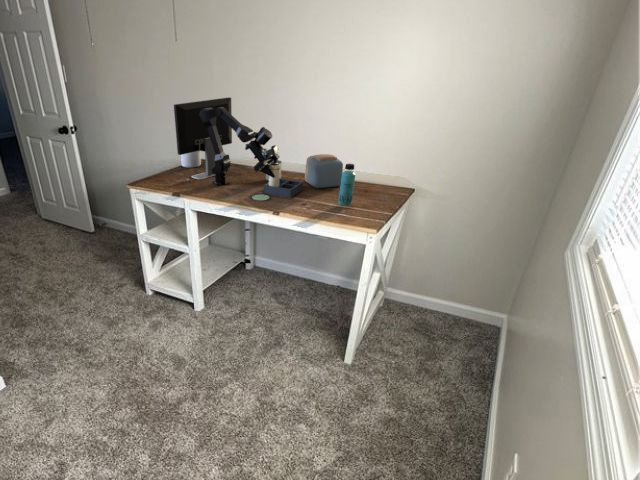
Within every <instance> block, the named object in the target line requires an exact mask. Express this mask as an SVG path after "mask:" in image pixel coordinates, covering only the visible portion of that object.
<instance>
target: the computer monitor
mask: <svg viewBox="0 0 640 480" xmlns="http://www.w3.org/2000/svg"><path fill="white" fill-rule="evenodd" d="M210 107H211V108H213V109H217V108H220V107H224V108H225V109H226V110H227V111H228V112H229V113H230V114H231V115H232V97H230V96H229V97H221V98H213V99H212V98H211V99H205V100H198V101H190V102H183V103H182V102H181V103H175V104H173V113H174V124H175V125H174V126H175V135H176V136H175V138H176V149H177V155H179V156H181V155H183V154H187V153H191V152H196V151H199V152H200V153H201V152H204V158H205V159H204V160H205V171H204V172H201V173H198V174H194V175H191V178H193V179H195V180H204V179H207V178H212V177H215V174H213V173H212V169H213V167H214V166H215V152H214V149H213V146H212V143H211V139H210V136H209V133H208V129H207V127H206V126H205V125H204V124H203V122H202V120H201V118H200V111H201V110H202V109H205V108H210ZM232 116H233V115H232ZM216 128H217V131H218V134H219V138H220V141H221V144H222V146H226V145H227V146H228V145H230V144H233V129H232V128H231V127H230V126H229V125H228V124H227V123H226V122H225V121H223V120H222V119H221V118H220V117H219V116H216Z"/></svg>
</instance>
